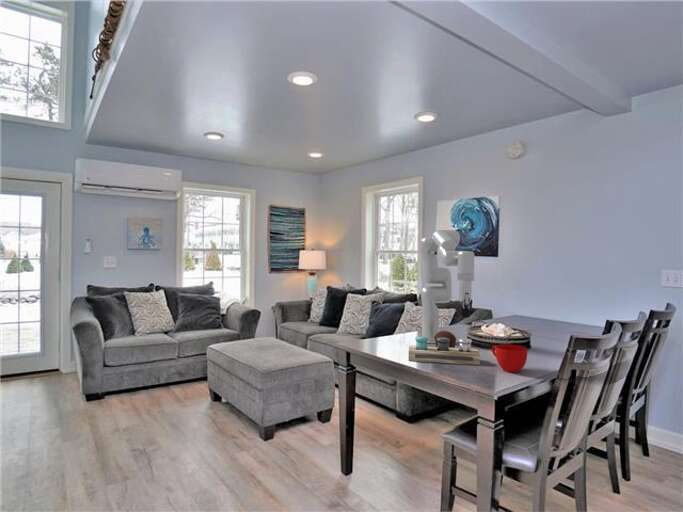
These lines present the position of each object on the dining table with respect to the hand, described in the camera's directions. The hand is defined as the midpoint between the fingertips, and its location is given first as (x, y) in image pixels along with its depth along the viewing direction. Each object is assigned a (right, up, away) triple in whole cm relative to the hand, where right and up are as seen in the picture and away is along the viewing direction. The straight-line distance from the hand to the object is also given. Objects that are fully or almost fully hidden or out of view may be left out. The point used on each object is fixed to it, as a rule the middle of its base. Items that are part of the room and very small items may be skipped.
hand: (465, 315), depth 197 cm
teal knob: (-20, -18, +4) cm, 27 cm away
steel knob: (0, -18, 0) cm, 18 cm away
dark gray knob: (-10, -18, +2) cm, 21 cm away
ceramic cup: (+15, -22, -13) cm, 29 cm away
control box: (-10, -21, +2) cm, 24 cm away
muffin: (-4, -21, +21) cm, 31 cm away
